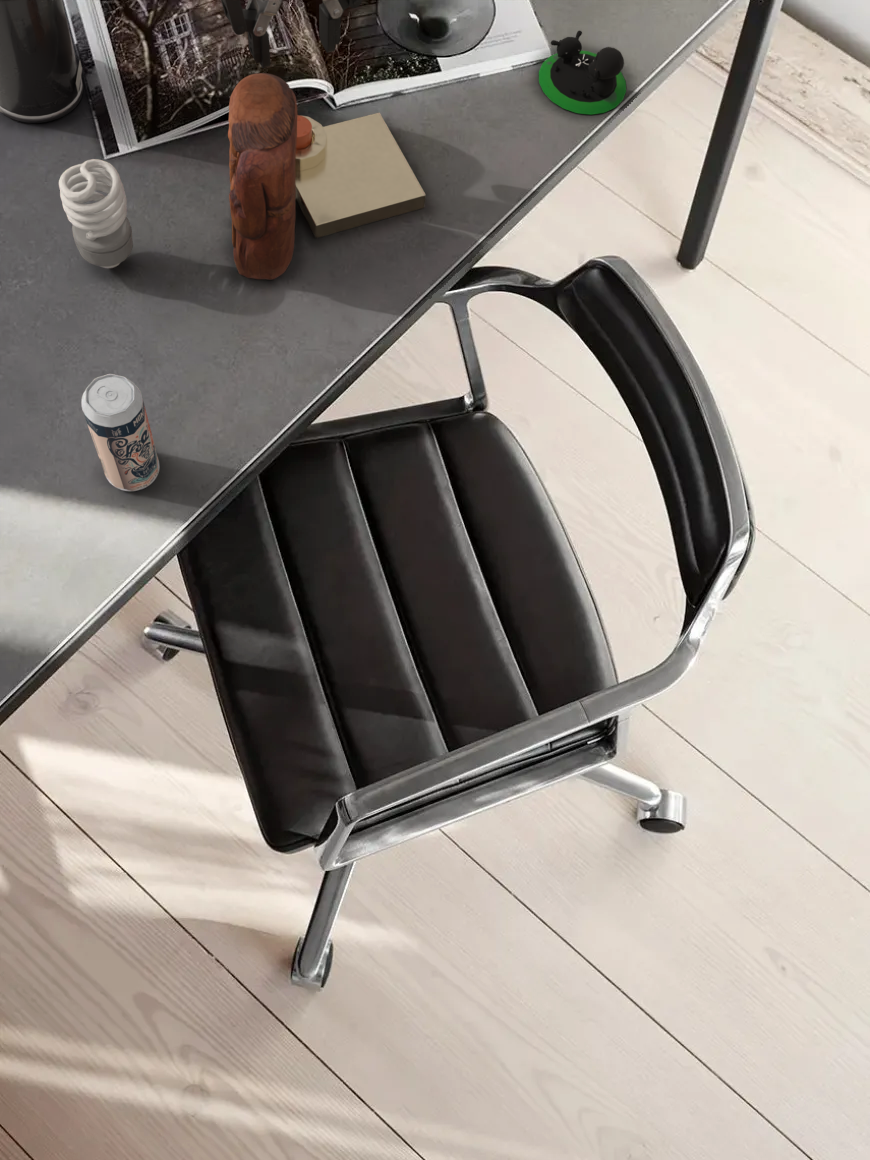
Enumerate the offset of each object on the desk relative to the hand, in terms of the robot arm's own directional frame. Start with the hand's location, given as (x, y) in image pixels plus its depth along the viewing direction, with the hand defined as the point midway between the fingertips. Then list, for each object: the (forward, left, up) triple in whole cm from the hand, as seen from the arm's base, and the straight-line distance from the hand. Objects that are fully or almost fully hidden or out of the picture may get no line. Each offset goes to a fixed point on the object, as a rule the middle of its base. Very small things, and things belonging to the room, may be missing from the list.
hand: (294, 53), depth 104 cm
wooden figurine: (+8, -7, -14) cm, 17 cm away
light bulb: (+6, -22, -14) cm, 26 cm away
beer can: (+29, -27, -14) cm, 42 cm away
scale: (+4, +4, -14) cm, 15 cm away
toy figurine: (-1, +34, -14) cm, 37 cm away
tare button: (0, 0, -10) cm, 10 cm away
